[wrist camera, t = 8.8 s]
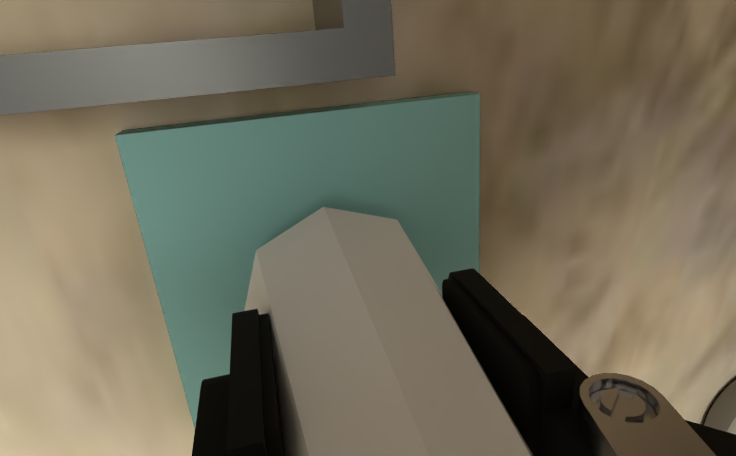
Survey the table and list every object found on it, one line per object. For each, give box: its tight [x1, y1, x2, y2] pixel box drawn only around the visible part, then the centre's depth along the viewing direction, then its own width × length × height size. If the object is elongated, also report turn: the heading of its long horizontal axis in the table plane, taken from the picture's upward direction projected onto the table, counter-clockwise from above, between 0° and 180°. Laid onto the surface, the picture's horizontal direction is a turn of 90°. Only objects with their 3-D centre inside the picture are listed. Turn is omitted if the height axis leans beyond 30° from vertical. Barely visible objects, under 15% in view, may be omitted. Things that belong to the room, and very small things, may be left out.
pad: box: [115, 92, 480, 427], centre depth 15 cm, size 10×10×1 cm
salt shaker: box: [244, 207, 533, 456], centre depth 9 cm, size 5×5×11 cm
